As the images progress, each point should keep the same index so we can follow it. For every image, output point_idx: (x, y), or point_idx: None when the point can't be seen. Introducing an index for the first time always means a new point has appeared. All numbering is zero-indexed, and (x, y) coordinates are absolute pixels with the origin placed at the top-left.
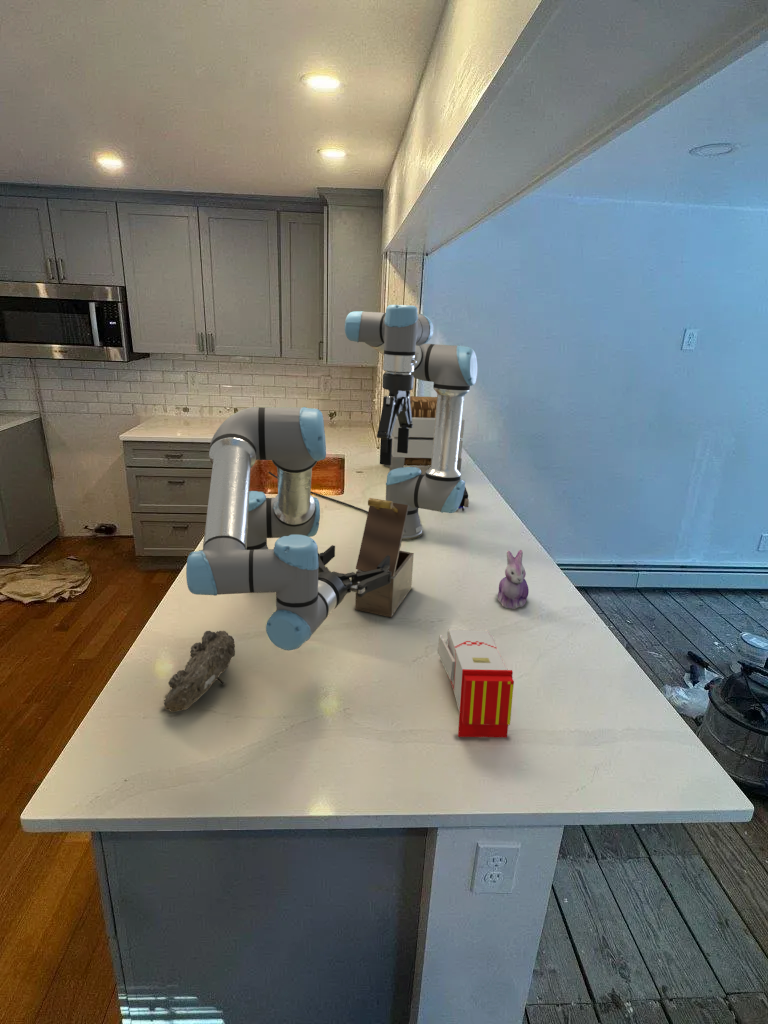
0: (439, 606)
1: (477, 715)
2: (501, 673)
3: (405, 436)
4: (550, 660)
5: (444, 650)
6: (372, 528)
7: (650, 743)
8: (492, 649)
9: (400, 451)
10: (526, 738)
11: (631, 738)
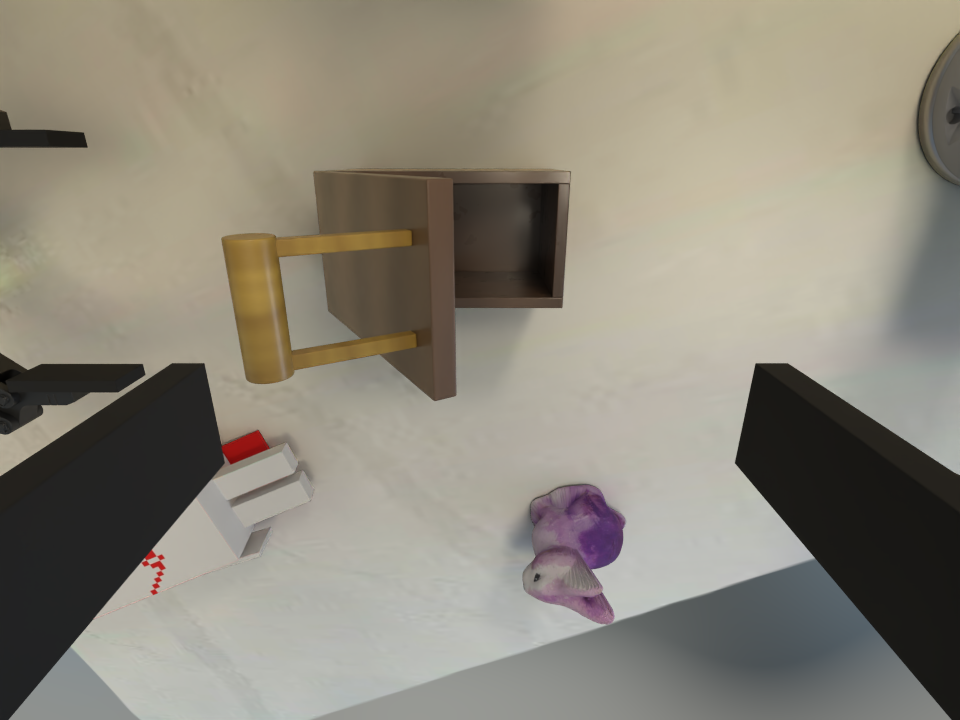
0: (477, 371)
1: None
2: None
3: (866, 578)
4: (366, 590)
5: None
6: (369, 216)
7: (231, 698)
8: (142, 589)
9: (753, 406)
10: None
11: (227, 681)
